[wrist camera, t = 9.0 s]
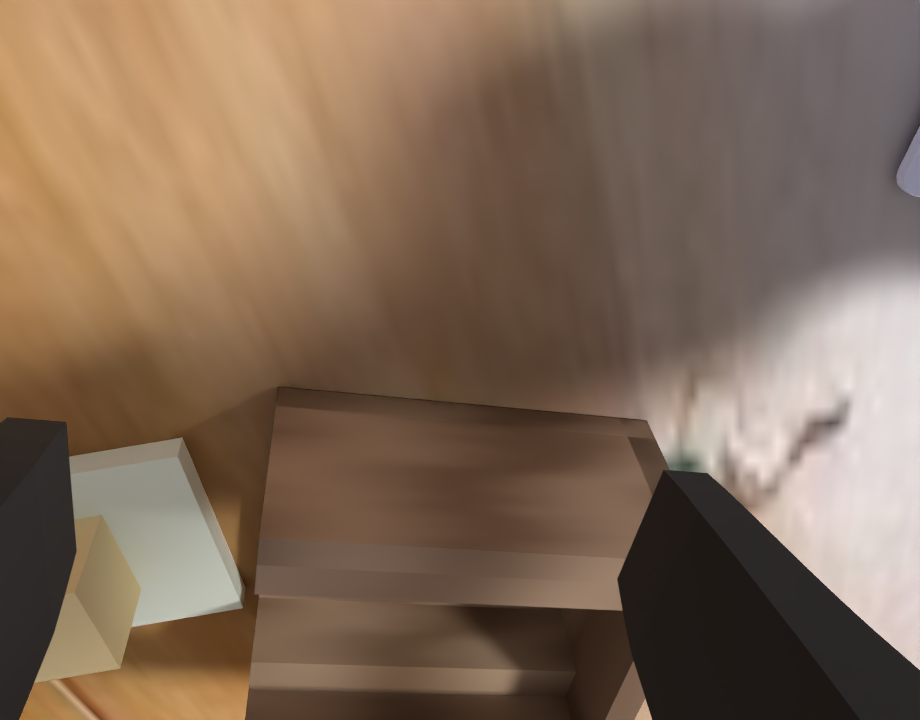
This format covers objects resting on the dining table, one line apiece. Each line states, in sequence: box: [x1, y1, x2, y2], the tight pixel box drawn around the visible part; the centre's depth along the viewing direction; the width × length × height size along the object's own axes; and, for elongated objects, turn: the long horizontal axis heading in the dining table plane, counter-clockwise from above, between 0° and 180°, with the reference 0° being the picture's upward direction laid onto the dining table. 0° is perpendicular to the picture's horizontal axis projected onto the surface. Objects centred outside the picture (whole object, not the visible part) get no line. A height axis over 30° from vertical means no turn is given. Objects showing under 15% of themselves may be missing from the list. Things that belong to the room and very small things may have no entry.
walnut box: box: [245, 387, 670, 720], centre depth 22 cm, size 10×9×5 cm
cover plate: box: [34, 437, 246, 683], centre depth 22 cm, size 8×6×4 cm
